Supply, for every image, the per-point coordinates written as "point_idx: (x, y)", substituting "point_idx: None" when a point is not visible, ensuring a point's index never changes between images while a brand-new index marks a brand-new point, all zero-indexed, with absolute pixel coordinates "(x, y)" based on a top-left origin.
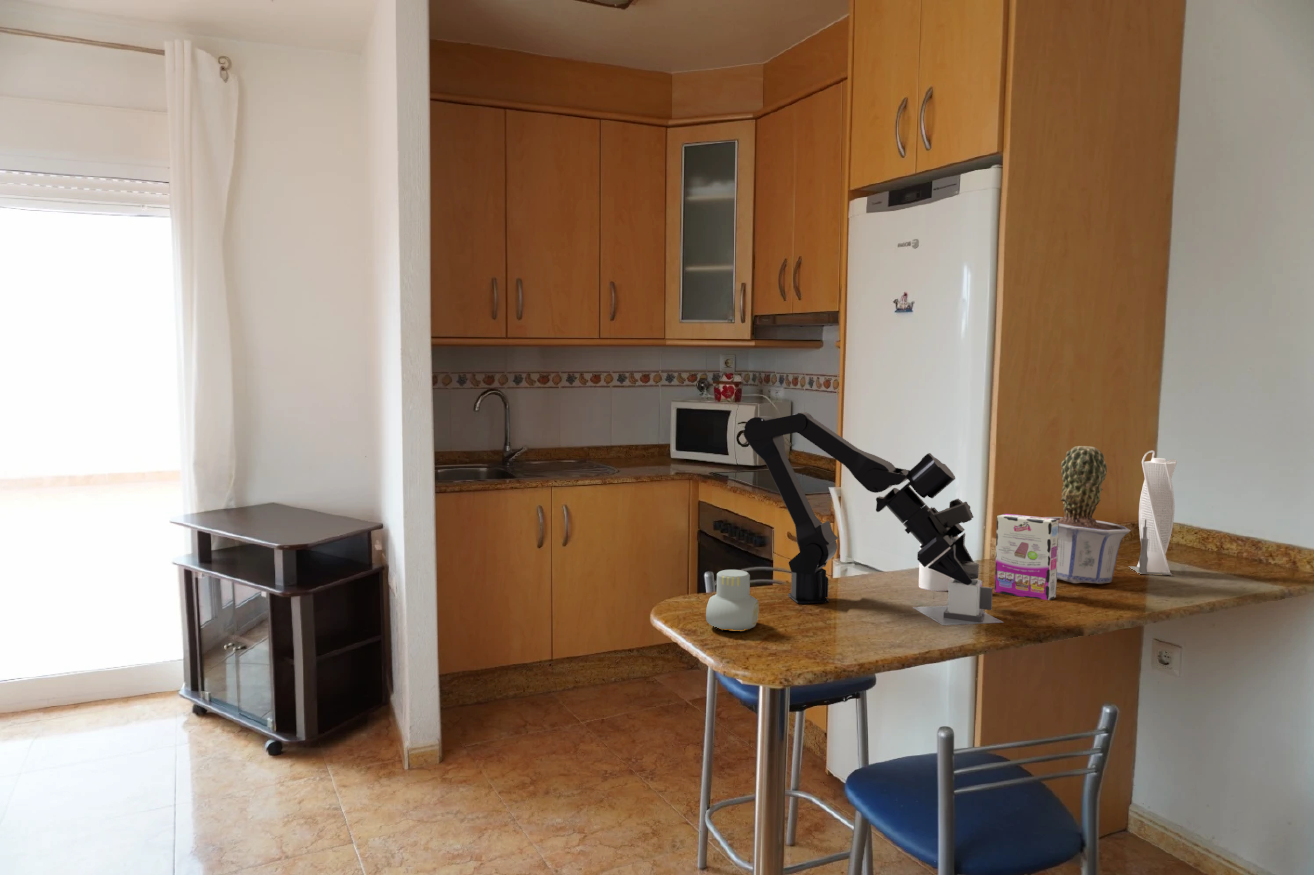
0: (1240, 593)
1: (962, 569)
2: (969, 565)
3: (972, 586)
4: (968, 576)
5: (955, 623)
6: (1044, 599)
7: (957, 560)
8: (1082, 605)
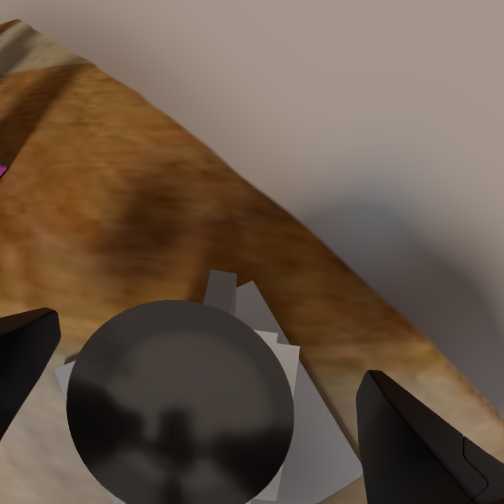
0: (30, 30)
1: (447, 426)
2: (244, 386)
3: (294, 374)
4: (400, 388)
5: (330, 437)
6: (1, 172)
7: (478, 474)
8: (37, 121)
